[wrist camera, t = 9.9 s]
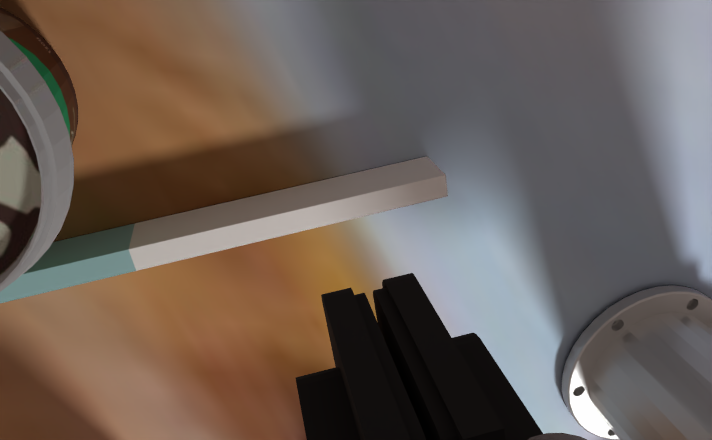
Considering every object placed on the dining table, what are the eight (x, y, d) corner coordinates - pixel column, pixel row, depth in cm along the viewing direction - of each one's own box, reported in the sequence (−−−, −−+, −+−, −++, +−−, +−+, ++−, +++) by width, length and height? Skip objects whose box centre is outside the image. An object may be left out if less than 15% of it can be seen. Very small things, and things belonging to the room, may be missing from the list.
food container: (69, 251, 33) (17, 371, 24) (-65, 217, 30) (-177, 336, 22) (136, 22, 29) (105, 63, 20) (-11, -35, 27) (-119, -17, 18)
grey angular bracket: (379, -267, 26) (407, -297, 23) (429, 176, 35) (454, 203, 32) (-279, -174, 23) (-367, -193, 19) (-40, 285, 32) (-71, 330, 28)
